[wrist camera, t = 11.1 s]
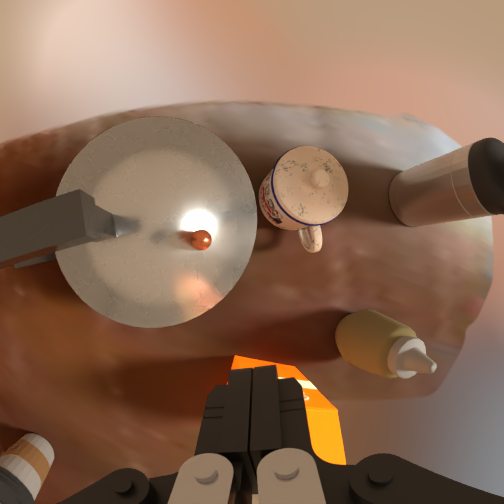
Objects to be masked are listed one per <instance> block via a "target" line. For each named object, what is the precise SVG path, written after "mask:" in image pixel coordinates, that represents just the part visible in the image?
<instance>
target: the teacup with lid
mask: <svg viewBox="0 0 504 504" xmlns="http://www.w3.org/2000/svg"><path fill="white" fill-rule="evenodd" d="M347 198H348V181H347V177H346V174H345V172H344V170H343V168H342V166H341V165H340V163H339V162H338V161H337V160H336V159H335V158H334V157H333V156H332V155H331V154H329V153H328V152H326V151H324V150H322V149H320V148H316V147H312V146H301V147H296V148H293V149H291V150H289V151H287V152H285V153H284V154H283V155H282V156H281V157H280V158H279V159H278V160H277V162H276V164H275V166H274V168H273V169H272V171H271V172H270V173H269V174H268V175H267V176H266V178H265V179H264V180H263V182H262V184H261V186H260V190H259V204H260V208H261V210H262V212H263V214H264V216H265V217H266V218H267V219H268V221H270V222H271V223H272V224H273V225H275V226H277V227H279V228H281V229H285V230H298V233H299V237H300V240H301V243H302V245H303V246H304V248H305V249H306V250H307V251H308V252H311V253H313V252H317V251H319V250H320V249H321V246H322V233H321V228H320V225H323V224H326V223H328V222H330V221H332V220H334V219H335V218H336V217H337V216H338V215H339V214H340V213H341V211H342V210H343V208H344V206H345V204H346V201H347ZM307 227H310V232H311V237H312V241H311V239H310V237H309V233H308V229H307Z"/></svg>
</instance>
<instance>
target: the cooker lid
mask: <svg viewBox="0 0 504 504" xmlns="http://www.w3.org/2000/svg"><path fill="white" fill-rule="evenodd" d="M256 229H257V206H256V200H255V195H254V191H253V188H252V184H251V181H250V179H249V177H248V174H247V172H246V170H245V168H244V166H243V165H242V163H241V162H240V160H239V158H238V157H237V156H236V154H235V153H234V152H233V151H232V150H231V149H230V147H229V146H228V145H227V144H226V143H224V142H223V141H222V140H221V139H220V138H219V137H217V136H216V135H215V134H213V133H212V132H210V131H209V130H207V129H205V128H203V127H201V126H199V125H197V124H194V123H192V122H189V121H186V120H182V119H177V118H172V117H159V116H157V117H144V118H138V119H133V120H130V121H127V122H124V123H121V124H118V125H116V126H114V127H112V128H110V129H108V130H106V131H105V132H103V133H101V134H100V135H98V136H97V137H96V138H94V139H93V140H92V141H91V142H89V143H88V144H87V145H86V146H85V147H84V148H83V149H82V150H81V151H80V152H79V153H78V154H77V156H76V157H75V158H74V160H73V161H72V162H71V164H70V165H69V167H68V169H67V170H66V172H65V174H64V176H63V178H62V180H61V182H60V185H59V187H58V190H57V193H56V197H53V198H50V199H47V200H44V201H41V202H39V203H36V204H33V205H30V206H28V207H25V208H22V209H20V210H17V211H14V212H12V213H9V214H7V215H4V216H2V217H0V269H1V268H4V267H7V266H10V265H13V264H16V263H20V262H23V261H26V260H29V259H33V258H36V257H39V256H43V255H46V254H50V253H53V252H55V255H56V258H57V261H58V263H59V266H60V269H61V271H62V273H63V275H64V276H65V278H66V280H67V282H68V283H69V285H70V286H71V287H72V289H73V290H74V292H75V293H76V294H77V295H78V296H79V297H80V298H81V299H82V300H83V301H84V302H85V303H86V304H87V305H89V306H90V307H91V308H92V309H94V310H95V311H97V312H98V313H100V314H102V315H103V316H105V317H107V318H109V319H112V320H114V321H116V322H119V323H122V324H126V325H130V326H135V327H143V328H159V327H166V326H172V325H176V324H179V323H183V322H186V321H188V320H191V319H193V318H195V317H197V316H199V315H201V314H203V313H204V312H206V311H207V310H209V309H211V308H212V307H213V306H214V305H216V304H217V303H218V302H219V301H220V300H222V299H223V298H224V297H225V296H226V294H227V293H228V292H229V291H230V290H231V289H232V288H233V287H234V285H235V284H236V282H237V281H238V279H239V278H240V277H241V275H242V273H243V271H244V269H245V267H246V265H247V263H248V261H249V258H250V255H251V253H252V250H253V246H254V242H255V237H256Z"/></svg>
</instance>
